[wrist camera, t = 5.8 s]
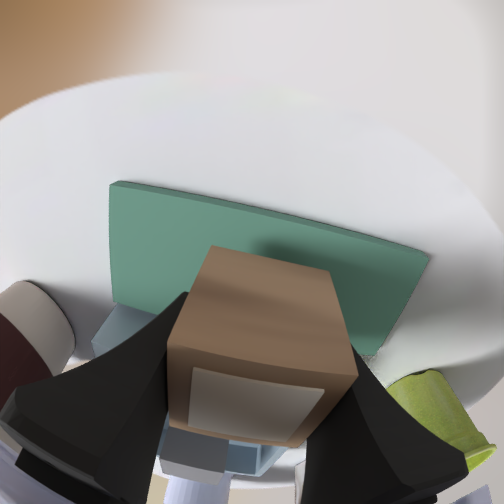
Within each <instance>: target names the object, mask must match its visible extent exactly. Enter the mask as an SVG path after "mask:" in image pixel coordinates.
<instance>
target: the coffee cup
mask: <svg viewBox="0 0 504 504" xmlns="http://www.w3.org/2000/svg"><path fill="white" fill-rule="evenodd" d="M74 347H75V338H74V334H73V331H72V328H71V326H70V324H69V322H68V320H67V318H66V317H65V315H64V314H63V312H62V311H61V309H60V308H59V307H58V306H57V304H56V303H55V302H54V301H53V300H52V299H51V298H50V297H49V296H48V295H47V294H46V293H45V292H44V291H43V290H41V289H40V288H39V287H37V286H35V285H34V284H32V283H29V282H26V281H18V282H16V283H14V284H12V285H11V286H10V287H9V288H7V289H6V290H5V291H3V292H2V293H1V294H0V412H1V410H2V408H3V407H4V405H5V404H6V402H7V400H8V399H9V397H10V395H11V394H12V393H13V391H14V390H15V389H16V387H17V386H22V385H26V384H30V383H34V382H37V381H41V380H45V379H48V378H51V377H54V376H56V375H59V374H61V373H62V371H63V369H64V367H65V365H66V364H67V362H68V360H69V358H70V356H71V355H72V353H73V351H74ZM0 440H1V441H2V442H4V443H5V444H6V445H7V446H9V447H10V448H11V449H13V450H14V451H15V452H16V453H18V454H20V452H21V450H22V448H23V447H21V446H20V445H19V444H18V443H17V442H16V441H15V440H14V439H13V438H12V437H11V436H10V435H9V434H8V433H7V432H6V431H5V430H4V429H3V428H2V427H1V426H0Z"/></svg>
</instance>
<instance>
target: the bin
mask: <svg viewBox="0 0 504 504" xmlns="http://www.w3.org/2000/svg"><path fill="white" fill-rule="evenodd" d="M156 316H157V315H156V314H153V313H149V312H146V311H142V310H139V309H136V308H133V307H129V306H126V305H123V304H120V303H118V304H117V305H116V306H115V308H114V309H113V310H112V312H111V313H110V315H109V316H108V317H107V319H106V320H105V322H104V323H103V324H102V326H101V327H100V329H99V330H98V332H97V333H96V335H95V336H94V337H93V339H92V340H91V344H92V347H93V351H94V355H95V358H97V357H98V356H100V355H102V354H104V353H106V352H107V351H109V350H111V349H112V348H114V347H116V346H117V345H119V344H120V343H122V342H123V341H125V340H126V339H128V338H129V337H131V336H132V335H133V334H135V333H136V332H137V331H139V330H140V329H141V328H143V327H144V326H145V325H146V324H148V323H149V322H150V321H151V320H152V319H154V318H155V317H156ZM168 427H169V411H168V413H167V416H166V420H165V424H164V427H163V431H162V435H161V438H160V442H159V446H158V450H157V454H156V456H157V457H160V453H161V450H162V447H163V443H164V440H165V437H166V433H167V430H168ZM288 448H289V447H281V446H271V445H262V444H254V443H247V442H240V441H234V440H229V445H228V452H227V459H226V466H225V472H226V473H232V474H239V475H247V476H256V477H261V476H262V475H263V474H264V473H265V472H266V471H267V470H268V469H269V468H270V467H271V466H272V465H273V464H274V463H275V462H276V461H277V460H278V459H279V458H280V457H281V455H282V454H283V453H284V452H285V451H286V450H287V449H288Z"/></svg>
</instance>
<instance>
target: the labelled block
mask: <svg viewBox="0 0 504 504" xmlns="http://www.w3.org/2000/svg"><path fill="white" fill-rule="evenodd" d="M358 376H359V375H358V371H357V367H356V363H355V359H354V355H353V351H352V347H351V344H350V340H349V336H348V333H347V329H346V325H345V322H344V318H343V315H342V311H341V308H340V305H339V301H338V298H337V295H336V291H335V288H334V285H333V282H332V279H331V276H330V272H329V271H326V270H321V269H317V268H312V267H308V266H303V265H299V264H294V263H290V262H286V261H281V260H277V259H272V258H268V257H263V256H259V255H254V254H250V253H245V252H241V251H236V250H232V249H228V248H223V247H219V246H214V245H211V247H210V249H209V251H208V253H207V255H206V257H205V259H204V262H203V264H202V266H201V268H200V270H199V272H198V274H197V276H196V279H195V281H194V283H193V285H192V287H191V289H190V292H189V294H188V296H187V298H186V300H185V303H184V305H183V307H182V309H181V311H180V314H179V316H178V318H177V320H176V323H175V325H174V327H173V329H172V332H171V334H170V336H169V339H168V341H167V382H168V410H169V426H171V427H175V428H179V429H182V430H186V431H190V432H194V433H199V434H203V435H208V436H213V437H217V438H223V439H228V440H234V441H240V442H247V443H254V444H262V445H271V446H281V447H295V448H298V447H299V446H300V445H301V444H302V443H303V442H304V441H305V440H306V439H307V438H308V436H309V435H310V434H311V433H312V432H313V431H314V430H315V429H316V428H317V427H318V425H319V424H320V423H321V422H322V421H323V420H324V419H325V417H326V416H327V415H328V414H329V413H330V412H331V410H332V409H333V408H334V407H335V406H336V404H337V403H338V402H339V401H340V399H341V398H342V397H343V396H344V394H345V393H346V392H347V390H348V389H349V388H350V387H351V385H352V384H353V383H354V381H355V380H356V379H357V377H358Z"/></svg>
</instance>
